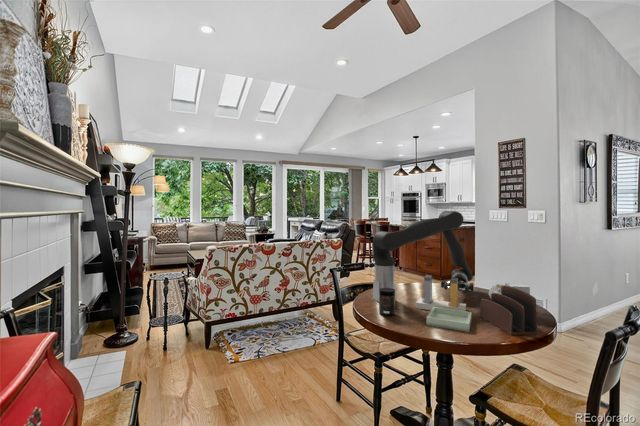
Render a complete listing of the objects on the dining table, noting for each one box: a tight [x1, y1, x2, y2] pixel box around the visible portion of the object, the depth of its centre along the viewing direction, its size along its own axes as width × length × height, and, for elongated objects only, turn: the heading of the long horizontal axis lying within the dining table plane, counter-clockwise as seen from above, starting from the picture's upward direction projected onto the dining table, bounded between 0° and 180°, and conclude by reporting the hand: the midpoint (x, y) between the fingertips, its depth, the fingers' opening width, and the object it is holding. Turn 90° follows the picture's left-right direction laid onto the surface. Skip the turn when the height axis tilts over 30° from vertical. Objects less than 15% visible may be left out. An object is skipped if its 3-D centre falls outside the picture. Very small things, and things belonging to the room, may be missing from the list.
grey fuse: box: [423, 274, 433, 304], centre depth 151 cm, size 2×5×14 cm, turn 152°
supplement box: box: [504, 282, 531, 295], centre depth 141 cm, size 7×7×13 cm
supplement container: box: [378, 288, 396, 317], centre depth 142 cm, size 7×7×10 cm
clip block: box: [415, 297, 467, 311], centre depth 149 cm, size 20×8×3 cm, turn 62°
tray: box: [426, 307, 473, 333], centre depth 132 cm, size 15×15×3 cm
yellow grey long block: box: [449, 276, 459, 307], centre depth 146 cm, size 2×5×14 cm, turn 152°
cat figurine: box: [488, 283, 503, 299], centre depth 156 cm, size 10×8×15 cm
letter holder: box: [480, 284, 538, 336], centre depth 129 cm, size 10×20×14 cm, turn 4°
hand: (455, 288), depth 153 cm, fingers open, 8 cm apart
